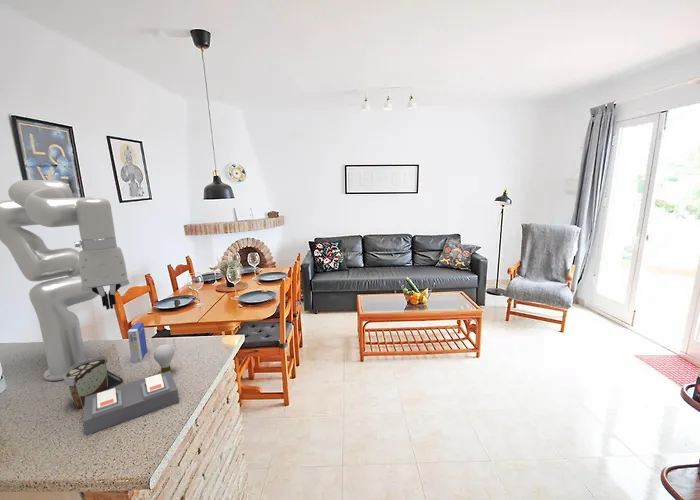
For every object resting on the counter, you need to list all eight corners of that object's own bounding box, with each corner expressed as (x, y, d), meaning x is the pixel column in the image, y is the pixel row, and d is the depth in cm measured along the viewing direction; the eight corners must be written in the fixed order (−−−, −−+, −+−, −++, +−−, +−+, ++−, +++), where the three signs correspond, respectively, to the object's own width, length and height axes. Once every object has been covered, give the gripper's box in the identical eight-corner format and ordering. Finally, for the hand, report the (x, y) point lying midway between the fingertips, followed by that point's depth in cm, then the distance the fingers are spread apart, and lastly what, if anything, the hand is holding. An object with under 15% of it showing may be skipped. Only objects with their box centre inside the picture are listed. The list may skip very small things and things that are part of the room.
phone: (101, 367, 111) (123, 379, 104) (102, 370, 111) (124, 383, 104) (73, 378, 105) (94, 393, 97) (73, 381, 105) (95, 396, 97)
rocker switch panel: (87, 409, 91) (84, 393, 90) (171, 382, 103) (170, 367, 102) (85, 435, 82) (82, 417, 81) (179, 401, 94) (177, 386, 93)
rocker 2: (145, 381, 94) (144, 378, 94) (161, 376, 96) (160, 373, 96) (148, 395, 90) (147, 392, 90) (164, 389, 92) (164, 386, 92)
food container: (92, 385, 102) (87, 355, 100) (111, 385, 102) (106, 355, 100) (56, 411, 90) (49, 379, 88) (78, 412, 90) (72, 379, 88)
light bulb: (167, 379, 105) (163, 350, 103) (152, 377, 106) (147, 348, 104) (180, 369, 111) (177, 341, 109) (165, 367, 112) (161, 340, 110)
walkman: (139, 352, 122) (134, 322, 120) (147, 351, 123) (143, 321, 121) (131, 363, 115) (126, 331, 113) (140, 361, 116) (135, 330, 113)
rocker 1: (97, 396, 88) (96, 393, 87) (115, 391, 90) (115, 387, 90) (98, 411, 84) (97, 407, 83) (117, 405, 86) (116, 401, 85)
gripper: (62, 249, 82) (75, 318, 86) (133, 243, 91) (142, 305, 94) (65, 245, 88) (76, 310, 92) (131, 239, 97) (139, 298, 100)
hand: (109, 307), depth 93 cm, fingers closed
